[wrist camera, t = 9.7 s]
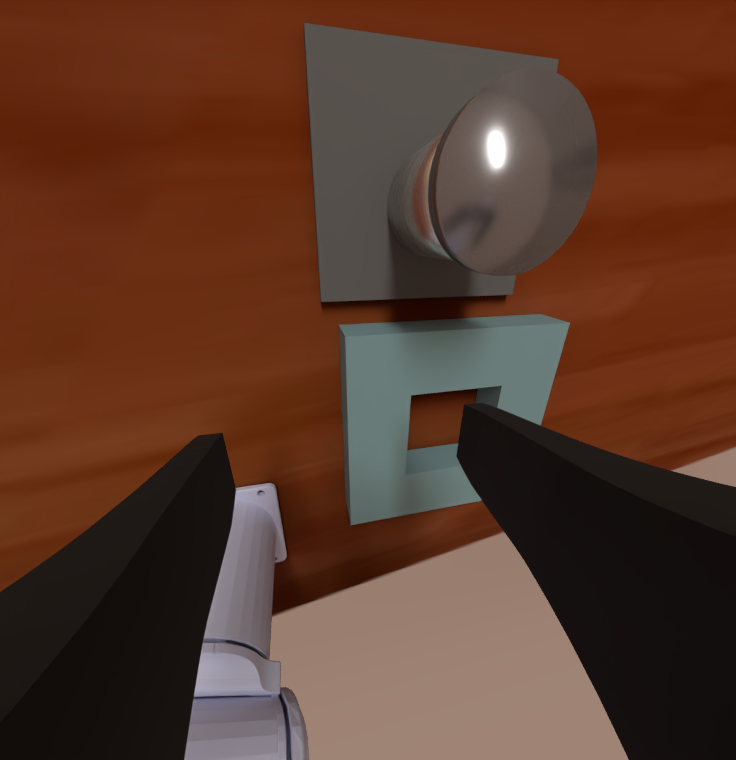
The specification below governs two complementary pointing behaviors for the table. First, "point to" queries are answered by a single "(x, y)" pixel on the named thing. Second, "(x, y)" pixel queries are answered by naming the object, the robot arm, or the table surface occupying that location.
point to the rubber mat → (386, 153)
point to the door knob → (500, 177)
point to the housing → (431, 375)
